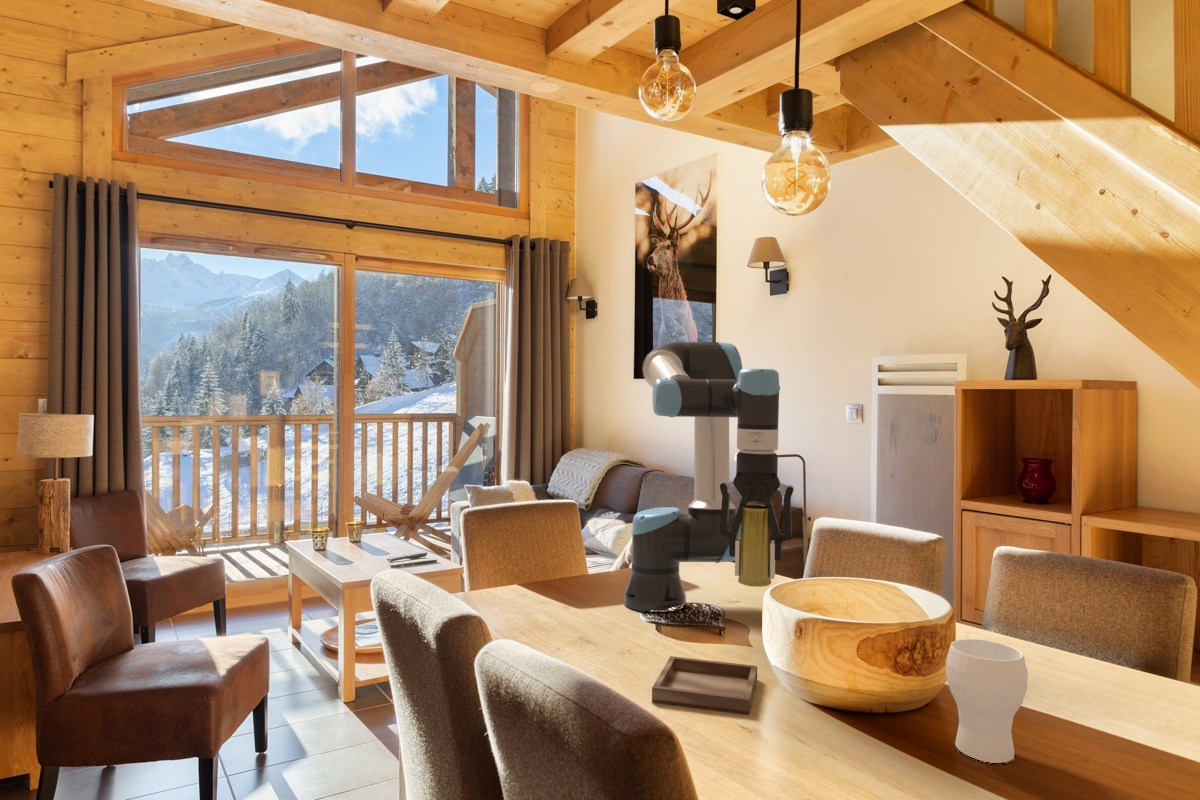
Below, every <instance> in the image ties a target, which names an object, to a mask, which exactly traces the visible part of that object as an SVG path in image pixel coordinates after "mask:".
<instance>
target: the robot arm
mask: <svg viewBox="0 0 1200 800" xmlns="http://www.w3.org/2000/svg"><path fill="white" fill-rule="evenodd" d="M641 369H642V370H641V371H642V376H643V378H644V380H645V381H646V383H647V384H648V385H649V386H650V387H652V410H653V412H654V414H655V415H656V416H659V417H668V418H675V417H676V418H677V417H678V418H679V417H680V418H682V417H685V418H693V417H694V423H693V424H694V427H693V428H694V435H693V436H694V438H693V439H694V441H693V442H694V448H693V449H694V455H693V456H694V458H693V461H694V465H693V467H694V469H693V470H694V479H693V480H694V481H693V483H694V484H693V485H694V488H693V490H694V493H693V494H694V495H693V496H694V497H693V501H691V502H690V504H688V507H687V513H682V512H681V510H680V508H678V507H675V506H671V507H670V506H669V507H667V506H665V507H663V506H662V507H654V508H647V509H644V510H641V511H638V512H636V513H635V514H634V516H633V519H632V525H631V526H632V527H631V528H632V529H631V533H630V534H632V539H631V542H632V543H631V573H630V575H629V578H628V582H627V585H626V587H625V592H624V593H623V594H624V595H623V604H624V606H625V607H626V608H629V609H631V610H634V611H636V612H637V611H639V612H645V611H650V610H665V609H668V608H671V607H674V606H678V605H682V604H685V603H686V604H687V602H686V601H687V596H686V592H685V589H684V585H683V583H682V579H681V576H680V563H716V564H719V563H729V562H733V561H734V576H736V577H739V569H740V545H741V521H742V517H743V507H747V505H749V504H748V503H749V502H750V503H752V502H758V503H763V505H764V506H765V508H768V519H769V522H770V531H771V533H772V536H773V539H774V540H770V579H771V580H775V577H776V561H780V560H781V559H782V547H783V546H782V545H783V542H786V541H790V540H791V539H792V537H793V531H792V529H793V528H792V527H793V526H792V496H793V492H794V490H795V489H794V486H793V485H791V484H790V485H787V484H784V483H781V481H780V479H779V477H778V471H779V470H778V466H779V462H778V461H779V459H778V457H779V455H778V454H777V452H776V451H778V449H779V415H780V414H779V411H780V410H779V409H780V407H779V406H780V390H781V386H780V373H779V372H778V370H776V369H772V368H743V363H742V357H741V355H740V352H739V350H738V348H737V347H736V345H734V344H733V343H728V342H719V341H712V342H711V341H708V342H707V341H706V342H705V341H674V342H671V341H670V342H668V343H664V344H662V345H660V346H656V347H655V348H653V349H652V350H651V351H650V352H649V353H648V354H647V355H646V357H644V360H643V362H642V368H641ZM730 418H737V424H736V425H737V428H736V429H737V430H736V431H737V432H736V449H737V450H739V451H738V452H737V453H736V468H735V469H736V472H735V476H734V479H733V480H731V481H730ZM775 452H776V453H775ZM734 488H735V489H736V490H737V491H738V493H739V494H740V496H741V499H740V501H739V506H738V508H737V509H736V506H735V505H734V503H732V501H731V493H732V492H733V490H734ZM778 490H779V491H780V495H781V496H782V497H783V526H784V527H783V528H784V529H783V530H784V532H783V533H781V529H780V526H779V522H778V518H777V515H776V512H775V508H774V504H773V500H772V496H773V495H775V493H777V492H776V491H778ZM736 510H737V512H736ZM645 613H646V612H645Z"/></svg>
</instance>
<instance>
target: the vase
mask: <svg viewBox="0 0 1200 800" xmlns="http://www.w3.org/2000/svg"><path fill="white" fill-rule="evenodd" d="M770 537H771V526H770V522H769V519H768V508H765V506H764V504H747V507H743V517H742V521H741V545H740V569H739V576H738V579H737V582H738V583H739V584H741V585H743V586H746V587H747V586H748V587H757V588H760V587H761V588H762V587H768V586H770V585H771V584H772V579H770V543H771V538H770Z"/></svg>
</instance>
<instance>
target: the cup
mask: <svg viewBox="0 0 1200 800" xmlns="http://www.w3.org/2000/svg"><path fill="white" fill-rule="evenodd" d="M1025 659H1026V658H1025V655H1024V654H1023V652H1022V651H1021V650H1019V649H1018V648H1015V647H1014V646H1011V645H1008V644H1005V643H1002V642H997V641H992V640H986V639H978V638H962V639H957V640H953V641H952V642H950V644H949V649H948V653H947V655H946V659H945V676H946V679H947V682H948V687H949V690H950V693H951V696H952V697H953V699H954V702H955V703H956V706H957V712H958V714H957V715H958V728H957V732H956V735H955V736H956V737H955V744H954V746H955V745H956V747H957V748H958V750H960V751H961V752H963V753H964V754H966V755H968V756H970V757H972V758H975V759H978V760H981V761H984V762H983V763H985V762H990V763H989V764H991V763H1001V762H1007V761H1010V760H1011V759H1013V758H1014V755H1015V747H1014V740H1013V735H1012V727H1013V721H1014V718H1015V715H1016V713H1017V711H1018V710H1019V709H1020V707H1021V706H1022V704H1023V701H1024V698H1025V696H1026V693H1027V690H1028V675H1029V673H1028V669H1027V664H1026V660H1025ZM956 747H955V748H956ZM958 750H957V751H958ZM1014 759H1015V758H1014ZM981 761H980V762H981Z"/></svg>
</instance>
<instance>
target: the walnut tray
mask: <svg viewBox="0 0 1200 800" xmlns="http://www.w3.org/2000/svg"><path fill="white" fill-rule="evenodd" d="M757 684H758V665H751V664H744V663H735V662H725V661H717V660H716V661H715V660H708V659H698V658H690V657H682V656H674V655H673V656H672V655H670V656H669V657H668V660H667V661H666V662H665V665H664V666H663V668H662V670H661V672H660V674H659V675H658V676H657V678H656V680H655V682H654V684H653V685H652V687H651V703H653V704H659V705H660V704H661V705H668V706H676V707H681V708H682V707H683V708H689V709H699V710H705V711H707V710H708V711H712V712H713V711H715V712H721V713H728V714H729V713H730V714H737V715H742V716H743V715H744V716H750V714H751V710H752V705H753V700H754V696H755V691H756V687H757Z"/></svg>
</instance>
